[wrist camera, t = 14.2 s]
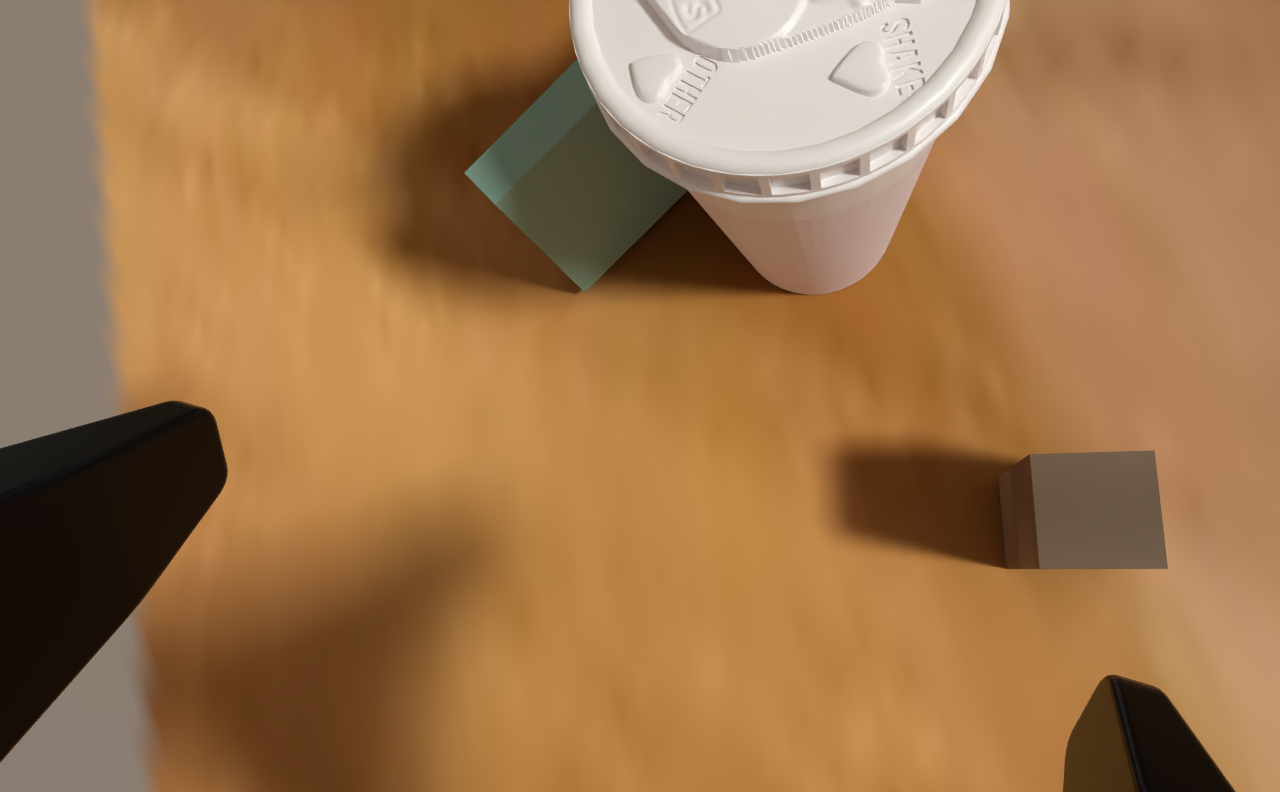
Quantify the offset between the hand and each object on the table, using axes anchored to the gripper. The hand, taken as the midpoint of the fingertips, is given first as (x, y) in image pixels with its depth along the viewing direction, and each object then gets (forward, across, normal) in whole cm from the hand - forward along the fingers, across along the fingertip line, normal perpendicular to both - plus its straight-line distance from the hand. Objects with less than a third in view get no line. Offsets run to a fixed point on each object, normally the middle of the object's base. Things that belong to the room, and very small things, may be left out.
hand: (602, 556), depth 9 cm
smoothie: (+15, 0, +2) cm, 15 cm away
